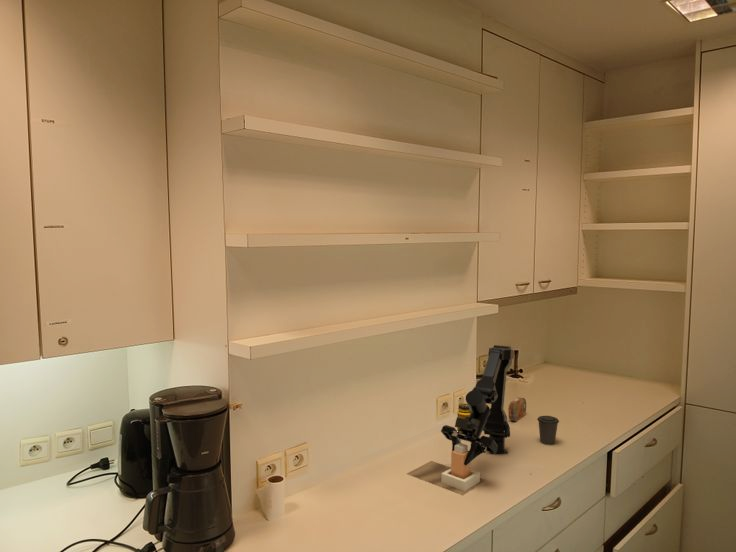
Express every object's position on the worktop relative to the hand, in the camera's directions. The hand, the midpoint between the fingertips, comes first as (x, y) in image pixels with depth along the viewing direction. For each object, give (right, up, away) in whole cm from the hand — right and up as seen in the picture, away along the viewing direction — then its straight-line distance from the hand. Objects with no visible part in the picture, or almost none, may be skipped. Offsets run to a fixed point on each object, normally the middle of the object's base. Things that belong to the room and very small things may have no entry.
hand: (458, 462), depth 171 cm
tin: (+37, -3, +65) cm, 75 cm away
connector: (+1, -6, +1) cm, 6 cm away
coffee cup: (+41, -5, +38) cm, 56 cm away
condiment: (+11, -5, +47) cm, 49 cm away
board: (-3, -8, +5) cm, 10 cm away
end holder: (+1, -7, +2) cm, 7 cm away
